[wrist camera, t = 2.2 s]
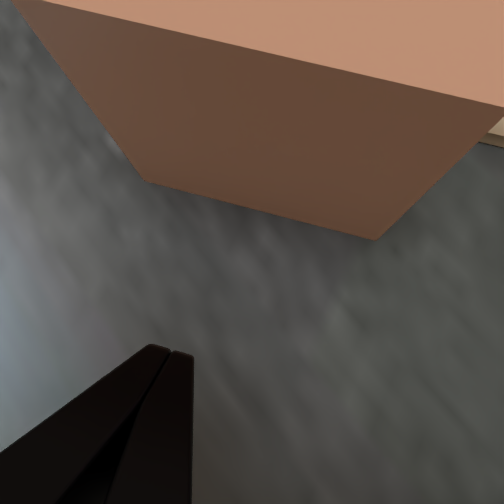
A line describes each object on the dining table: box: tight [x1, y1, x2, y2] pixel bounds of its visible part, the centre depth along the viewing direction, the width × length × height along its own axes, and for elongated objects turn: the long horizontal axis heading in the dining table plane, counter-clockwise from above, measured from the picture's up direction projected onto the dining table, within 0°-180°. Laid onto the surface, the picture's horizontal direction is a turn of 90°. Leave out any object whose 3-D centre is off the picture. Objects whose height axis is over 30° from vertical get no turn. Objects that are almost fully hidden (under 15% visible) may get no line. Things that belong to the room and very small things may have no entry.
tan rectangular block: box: [11, 0, 504, 241], centre depth 13 cm, size 4×9×10 cm, turn 75°
